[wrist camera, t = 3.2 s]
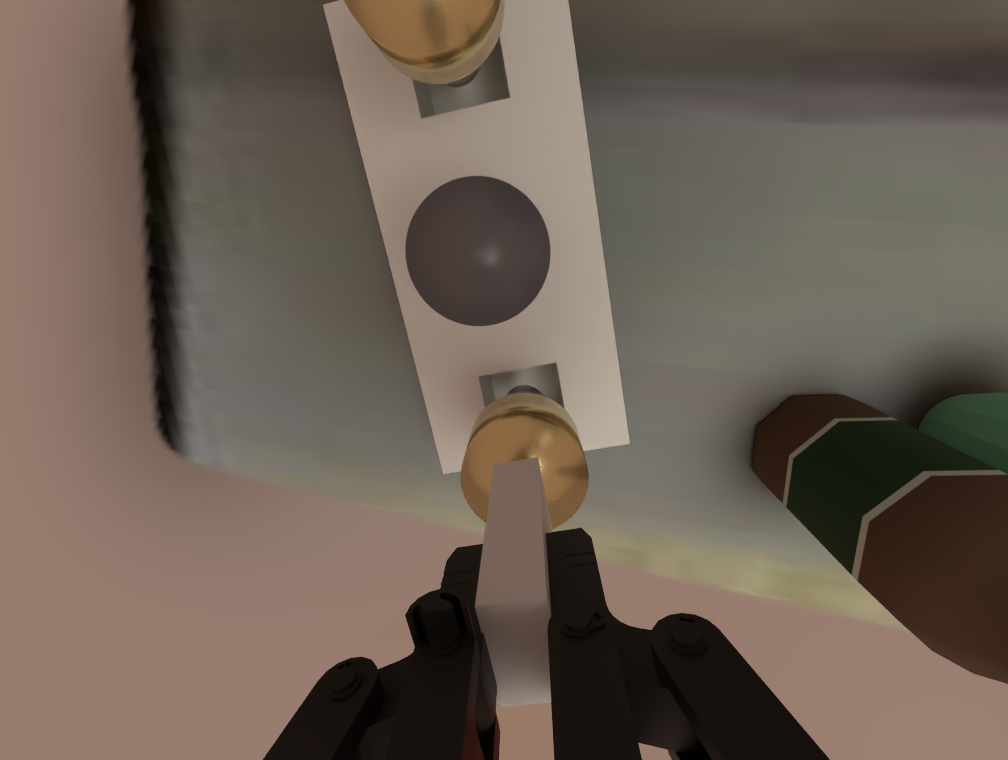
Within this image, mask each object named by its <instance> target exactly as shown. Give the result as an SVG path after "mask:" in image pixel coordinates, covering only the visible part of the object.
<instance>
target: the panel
mask: <svg viewBox="0 0 1008 760" xmlns="http://www.w3.org/2000/svg"><path fill="white" fill-rule="evenodd" d="M323 7H324V11H325V15H326V19H327V23H328V27H329V31H330V34H331V38H332V42H333V46H334V50H335V54H336V58H337V62H338V66H339V69H340V73H341V77H342V81H343V85H344V89H345V93H346V97H347V101H348V104H349V108H350V112H351V116H352V120H353V124H354V128H355V132H356V136H357V139H358V143H359V147H360V151H361V155H362V159H363V163H364V167H365V171H366V174H367V178H368V182H369V186H370V190H371V194H372V198H373V202H374V206H375V210H376V213H377V217H378V221H379V225H380V229H381V233H382V237H383V241H384V245H385V248H386V252H387V256H388V260H389V264H390V268H391V272H392V276H393V280H394V283H395V287H396V291H397V295H398V299H399V303H400V307H401V311H402V315H403V318H404V322H405V326H406V330H407V334H408V338H409V342H410V346H411V350H412V353H413V357H414V361H415V365H416V369H417V373H418V377H419V381H420V385H421V389H422V392H423V396H424V400H425V404H426V408H427V412H428V416H429V420H430V424H431V427H432V431H433V435H434V439H435V443H436V447H437V451H438V455H439V459H440V462H441V466H442V470H443V474H447V473H453V472H459V471H461V467H462V463H463V459H464V456H465V452H466V448H467V445H468V441H469V437H470V434H471V430H472V427H473V425H474V422H475V420H476V419H477V417H478V415H479V414H480V413H481V412H482V411H483V410H484V409H485V408H486V407H487V406H488V405H489V404H491V403H492V402H493V401H495V400H497V399H499V398H501V397H504V396H506V394H507V393H508V392H509V391H510V390H511V389H512V388H514V387H516V386H519V385H530V386H533V387H535V388H537V389H538V390H539V391H540V392H541V393H542V394H543V396H545V397H547V398H550V399H552V400H553V401H555V402H557V403H558V404H559V405H561V406H562V407H563V408H564V409H565V410H566V411H567V412H568V413H569V415H570V416H571V417H572V419H573V421H574V422H575V425H576V427H577V430H578V434H579V437H580V441H581V445H582V448H583V451H588V450H594V449H600V448H606V447H612V446H618V445H624V444H630V442H629V435H628V428H627V421H626V414H625V406H624V399H623V392H622V385H621V378H620V370H619V363H618V356H617V349H616V341H615V334H614V327H613V320H612V313H611V305H610V298H609V291H608V284H607V277H606V269H605V262H604V255H603V248H602V241H601V233H600V226H599V219H598V212H597V204H596V197H595V190H594V183H593V176H592V168H591V161H590V154H589V147H588V140H587V132H586V125H585V118H584V111H583V103H582V96H581V89H580V82H579V75H578V67H577V60H576V53H575V46H574V39H573V31H572V24H571V17H570V10H569V3H568V0H505V10H504V19H503V24H502V29H501V32H500V35H499V38H498V41H497V43H496V45H495V47H494V49H493V50H492V52H491V53H490V55H489V57H488V58H487V59H486V60H485V61H484V63H483V64H482V65H481V66H480V69H479V72H478V74H477V75H476V77H475V78H474V79H473V80H472V81H471V82H470V83H469V84H467V85H465V86H462V87H450V86H447V85H445V84H427V83H423V82H419V81H416V80H414V79H411V78H409V77H407V76H406V75H404V74H403V73H401V72H400V71H398V70H397V69H396V68H395V67H394V66H393V65H392V64H391V63H390V62H389V61H388V60H387V59H386V58H385V57H384V55H383V54H382V53H381V51H380V50H379V49H378V48H377V46H376V45H375V44H374V43H373V41H372V40H371V39H370V37H369V36H368V35H367V34H366V32H365V31H364V30H363V28H362V27H361V26H360V25H359V23H358V22H357V21H356V19H355V18H354V17H353V15H352V14H351V13H350V11H349V9H348V7H347V6H346V4H345V2H344V0H339V1H335V2H331V3H327V4H323ZM468 176H486V177H492V178H496V179H499V180H502V181H504V182H507V183H509V184H511V185H512V186H514V187H516V188H517V189H519V190H520V191H521V192H522V193H524V194H525V195H526V196H527V197H528V198H529V199H530V200H531V201H532V202H533V203H534V205H535V206H536V208H537V209H538V211H539V212H540V214H541V216H542V218H543V220H544V222H545V225H546V228H547V231H548V235H549V239H550V248H551V253H550V265H549V270H548V274H547V277H546V280H545V282H544V284H543V287H542V289H541V290H540V292H539V294H538V295H537V297H536V298H535V299H534V300H533V302H532V303H531V304H530V305H529V306H528V307H527V308H526V309H525V310H523V311H522V312H521V313H519V314H518V315H516V316H515V317H513V318H511V319H509V320H507V321H504V322H502V323H498V324H495V325H489V326H469V325H463V324H460V323H456V322H454V321H451V320H449V319H447V318H445V317H443V316H442V315H440V314H438V313H437V312H436V311H434V310H433V309H432V308H431V307H430V306H429V305H428V304H427V303H426V302H425V301H424V300H423V299H422V297H421V296H420V295H419V293H418V292H417V290H416V288H415V287H414V285H413V282H412V280H411V278H410V275H409V272H408V268H407V263H406V254H405V245H406V237H407V232H408V228H409V225H410V222H411V219H412V217H413V215H414V213H415V211H416V210H417V208H418V207H419V205H420V204H421V203H422V202H423V200H424V199H425V198H426V197H427V196H428V195H429V194H430V193H432V192H433V191H434V190H435V189H437V188H438V187H440V186H441V185H443V184H445V183H447V182H449V181H451V180H454V179H458V178H461V177H468Z"/></svg>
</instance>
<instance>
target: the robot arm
mask: <svg viewBox="0 0 1008 760" xmlns="http://www.w3.org/2000/svg"><path fill="white" fill-rule="evenodd" d="M405 616H406V619H407V622H408V626H409V629H410V632H411V636H412V639H413V642H414V645H415V649H414V652H413V653H412V654H411V655H409V656H408V657H406V658H404V659H402V660H400V661H398V662H395V663H393V664H390V665H388V666H385V667H383V668H380V669H377V666H376V665H375V664H374V662H373V661H372V660H371V659H368V658H364V657H355V658H350V659H347V660H345V661H342V662H340V663H338V664H336V665H335V666H334V667H332V668H331V669H329V670H328V671H327V672H326V673H325V674H324V675H323V676H322V677H321V678H320V679H319V681H318V682H317V683H316V685H315V686H314V687H313V689H312V690H311V692H310V693H309V695H308V696H307V697H306V699H305V700H304V702H303V703H302V705H301V706H300V707H299V709H298V711H297V712H296V713H295V714H294V716H293V717H292V719H291V720H290V722H289V723H288V725H287V726H286V727H285V729H284V730H283V732H282V733H281V734H280V736H279V738H278V739H277V740H276V742H275V743H274V745H273V746H272V747H271V749H270V750H269V751H268V753H267V754H266V756H265V758H264V759H263V760H499V744H500V729H499V723H498V719H497V715H496V695H498V698H499V702H500V706H501V708H503V707H512V706H520V705H529V704H538V703H546V702H551V705H552V721H553V741H554V760H642V758H641V754H640V749H639V745H638V743H642V744H647V745H651V746H655V747H660V748H664V749H668V752H669V755H670V756H671V759H672V760H829V758H828V757H827V756H826V755H825V753H824V752H823V751H822V750H821V749H820V748H819V746H817V744H816V743H815V742H814V741H813V739H812V738H811V737H810V736H809V735H808V734H807V732H806V731H805V730H804V729H803V728H802V726H801V725H800V724H799V723H798V722H797V721H796V719H795V718H794V717H793V716H792V715H791V713H790V712H789V711H788V710H787V709H786V708H785V706H784V705H783V704H782V703H781V702H780V701H779V699H778V698H777V697H776V696H775V695H774V693H773V692H772V691H771V690H770V689H769V688H768V686H767V685H766V684H765V683H764V682H763V681H762V679H761V678H760V677H759V676H758V675H757V674H756V672H755V671H754V670H753V669H752V668H751V666H750V665H749V664H748V663H747V662H746V661H745V659H744V658H743V657H742V656H741V655H740V653H739V652H738V651H737V650H736V649H735V648H734V646H733V645H732V644H731V643H730V642H729V641H728V639H727V638H726V637H725V636H724V635H723V633H722V632H721V631H720V630H719V629H718V628H717V627H716V626H715V625H713V624H712V623H711V622H710V621H708V620H706V619H704V618H702V617H699V616H697V615H692V614H685V613H679V614H673V615H669V616H666V617H665V618H663V619H661V620H659V621H658V622H657V623H656V625H655V626H654V628H653V629H652V630H647V629H640V628H636V627H631V626H628V625H626V624H624V623H622V622H620V621H619V620H617V619H616V618H615V617H614V616H613V615H612V614H611V613H610V611H609V610H608V607H607V605H606V601H605V597H604V592H603V588H602V584H601V579H600V574H599V570H598V566H597V561H596V556H595V552H594V547H593V543H592V538H591V537H590V536H589V535H588V534H587V533H586V532H585V531H584V530H583V529H582V528H577V529H571V530H564V531H557V532H552V526H551V521H550V516H549V510H548V505H547V500H546V495H545V490H544V485H543V480H542V475H541V470H540V465H539V459H538V457H535V458H529V459H523V460H516V461H510V462H504V463H498V464H494V467H493V475H492V482H491V490H490V497H489V504H488V512H487V519H486V527H485V534H484V542H483V544H479V545H472V546H466V547H459V548H456V550H455V551H454V552H453V553H452V555H451V556H450V557H449V559H448V560H447V562H446V566H445V570H444V577H443V579H442V583H441V588H440V589H439V590H435V591H431V592H429V593H427V594H425V595H423V596H422V597H420V598H418V599H417V600H416V601H415V602H414V603H413V604H412V605H411V606H410V607H409V609H408V611H407V613H406V615H405Z"/></svg>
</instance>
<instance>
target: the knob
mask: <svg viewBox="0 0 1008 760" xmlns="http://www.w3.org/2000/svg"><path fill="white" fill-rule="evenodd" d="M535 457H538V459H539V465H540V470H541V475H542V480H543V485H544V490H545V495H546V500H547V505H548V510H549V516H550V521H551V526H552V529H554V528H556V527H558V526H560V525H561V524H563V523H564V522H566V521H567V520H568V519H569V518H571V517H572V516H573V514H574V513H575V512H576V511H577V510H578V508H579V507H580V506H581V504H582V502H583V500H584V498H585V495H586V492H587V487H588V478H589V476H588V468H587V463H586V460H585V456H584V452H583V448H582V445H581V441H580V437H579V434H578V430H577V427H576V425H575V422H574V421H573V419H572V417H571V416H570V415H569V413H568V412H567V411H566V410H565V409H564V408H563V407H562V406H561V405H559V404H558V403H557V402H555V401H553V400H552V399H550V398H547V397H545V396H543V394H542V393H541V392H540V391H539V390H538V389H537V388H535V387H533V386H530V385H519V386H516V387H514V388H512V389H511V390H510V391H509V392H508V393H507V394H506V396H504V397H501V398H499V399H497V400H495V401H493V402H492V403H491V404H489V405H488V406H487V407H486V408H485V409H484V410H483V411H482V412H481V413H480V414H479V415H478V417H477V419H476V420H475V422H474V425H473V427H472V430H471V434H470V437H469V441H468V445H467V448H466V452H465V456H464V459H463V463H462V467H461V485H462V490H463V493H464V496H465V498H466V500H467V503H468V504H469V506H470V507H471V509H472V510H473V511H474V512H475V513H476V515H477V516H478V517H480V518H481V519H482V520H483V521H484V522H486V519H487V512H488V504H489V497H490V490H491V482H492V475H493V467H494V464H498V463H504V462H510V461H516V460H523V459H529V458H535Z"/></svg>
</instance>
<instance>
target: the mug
mask: <svg viewBox="0 0 1008 760" xmlns="http://www.w3.org/2000/svg"><path fill="white" fill-rule="evenodd" d="M918 430H919V431H921V432H923V433H925V434H927V435H929V436H931V437H933V438H935V439H937V440H939V441H941V442H943V443H945V444H947V445H949V446H951V447H953V448H955V449H957V450H959V451H961V452H964V453H966V454H968V455H970V456H972V457H974V458H976V459H978V460H980V461H982V462H984V463H986V464H988V465H990V466H992V467H994V468H996V469H998V470H1000V471H1002V472H1004V473H1006V474H1008V392H1001V393H979V394H959V395H956V396H953V397H949V398H946V399H945V400H943V401H941V402H940V403H938V404H936V405H935V406H934V407H933V408H932V409H931V410H930V411H929V412H928V413H927V414H926V415H925V416H924V418H923V420H922V421H921V423H920V425H919V429H918Z"/></svg>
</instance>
